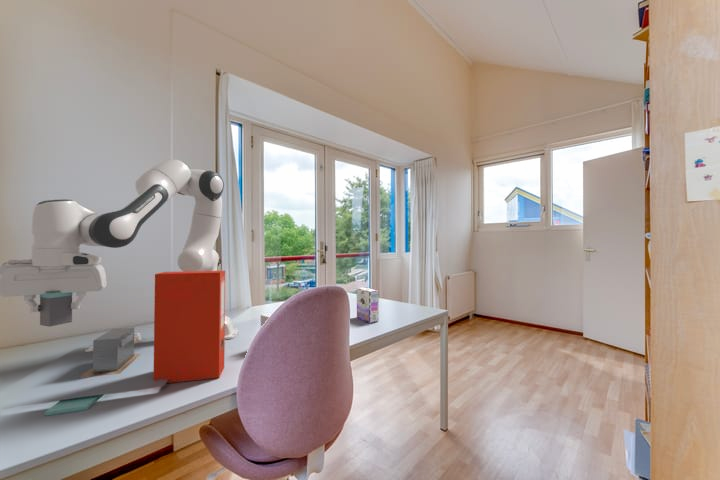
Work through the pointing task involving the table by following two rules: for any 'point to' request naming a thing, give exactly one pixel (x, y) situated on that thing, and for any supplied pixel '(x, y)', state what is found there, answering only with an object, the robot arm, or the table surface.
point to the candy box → (367, 304)
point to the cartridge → (55, 308)
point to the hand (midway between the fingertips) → (56, 310)
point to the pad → (73, 404)
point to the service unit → (113, 350)
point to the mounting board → (90, 372)
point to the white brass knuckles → (136, 340)
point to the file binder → (189, 325)
